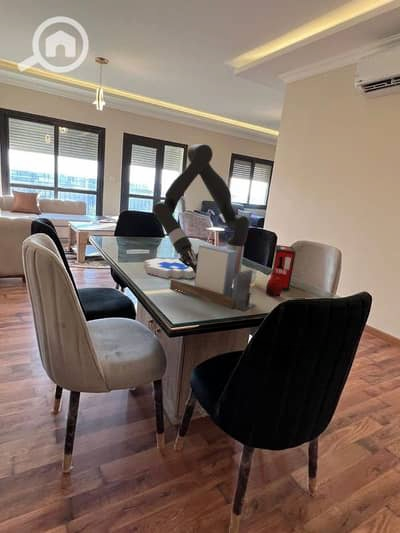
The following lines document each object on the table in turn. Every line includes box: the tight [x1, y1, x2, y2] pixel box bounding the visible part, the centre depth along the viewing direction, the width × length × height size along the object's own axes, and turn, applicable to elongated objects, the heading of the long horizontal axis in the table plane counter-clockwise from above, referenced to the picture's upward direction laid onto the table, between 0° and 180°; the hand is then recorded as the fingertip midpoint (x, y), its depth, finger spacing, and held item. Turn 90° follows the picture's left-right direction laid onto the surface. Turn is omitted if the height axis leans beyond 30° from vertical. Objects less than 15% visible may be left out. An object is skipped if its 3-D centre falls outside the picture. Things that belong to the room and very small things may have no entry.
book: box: [194, 244, 237, 297], centre depth 133 cm, size 6×15×21 cm, turn 54°
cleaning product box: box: [269, 244, 297, 292], centre depth 163 cm, size 16×9×20 cm, turn 168°
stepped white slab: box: [143, 257, 196, 280], centre depth 170 cm, size 28×4×28 cm
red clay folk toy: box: [265, 266, 282, 298], centre depth 146 cm, size 8×7×15 cm
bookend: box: [229, 269, 256, 313], centre depth 126 cm, size 13×6×14 cm, turn 146°
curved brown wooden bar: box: [169, 278, 252, 310], centre depth 137 cm, size 12×33×4 cm, turn 56°
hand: (198, 273), depth 139 cm, fingers closed
